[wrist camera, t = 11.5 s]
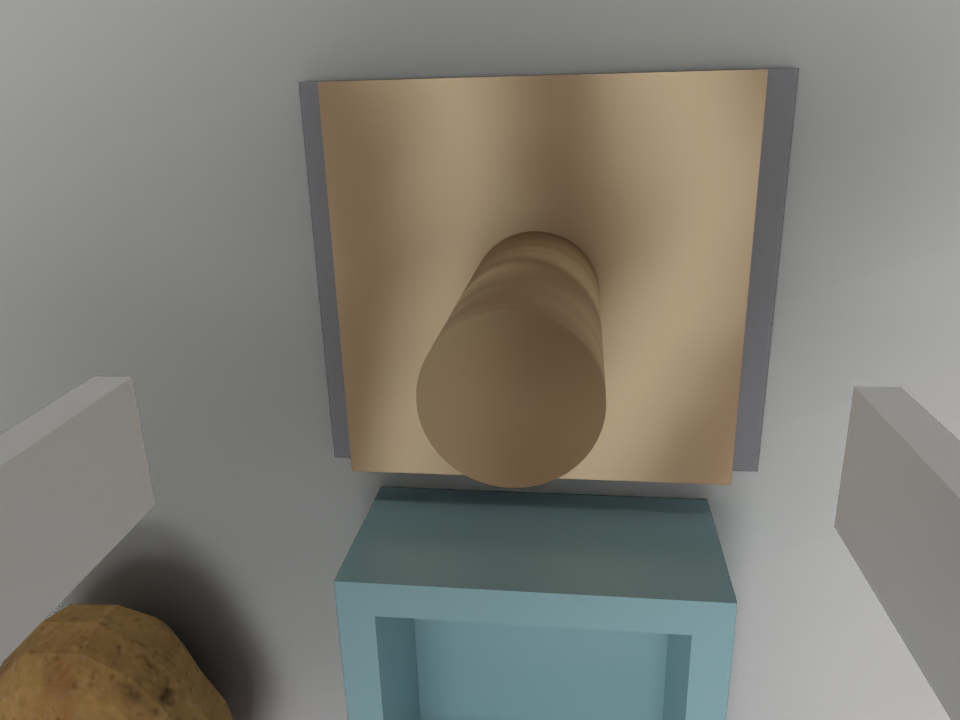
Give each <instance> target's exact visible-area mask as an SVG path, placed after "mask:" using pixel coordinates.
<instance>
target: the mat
mask: <svg viewBox="0 0 960 720" xmlns="http://www.w3.org/2000/svg"><path fill="white" fill-rule="evenodd" d="M744 70H757V69H744ZM708 71H721V70H708ZM673 72H686V71H673ZM798 72H799V68H780V69H768V78H767V89H766V100H765V111H764V123H763V134H762V145H761V156H760V167H759V178H758V189H757V200H756V211H755V222H754V233H753V245H752V256H751V267H750V278H749V289H748V300H747V311H746V322H745V333H744V344H743V356H742V367H741V378H740V389H739V400H738V411H737V422H736V433H735V444H734V455H733V466H732V471H757V472H758V463H759V454H760V444H761V434H762V424H763V415H764V405H765V395H766V385H767V375H768V366H769V356H770V346H771V336H772V326H773V317H774V307H775V297H776V287H777V277H778V268H779V258H780V248H781V238H782V229H783V219H784V209H785V199H786V189H787V180H788V170H789V160H790V150H791V140H792V131H793V121H794V111H795V101H796V91H797V82H798ZM637 73H650V72H637ZM601 74H614V73H601ZM566 75H578V74H566ZM530 76H542V75H530ZM494 77H507V76H494ZM459 78H471V77H459ZM423 79H435V78H423ZM388 80H399V79H388ZM352 81H363V80H352ZM318 82H328V81H316V82H299V91H300V101H301V112H302V122H303V133H304V143H305V153H306V164H307V174H308V185H309V195H310V205H311V216H312V226H313V237H314V247H315V258H316V268H317V278H318V289H319V299H320V310H321V320H322V330H323V341H324V351H325V362H326V372H327V382H328V393H329V403H330V414H331V424H332V434H333V445H334V455H335V457H349V458H351V454H350V442H349V431H348V420H347V408H346V397H345V386H344V375H343V363H342V352H341V341H340V329H339V318H338V307H337V295H336V284H335V273H334V262H333V250H332V239H331V228H330V216H329V205H328V194H327V182H326V171H325V160H324V149H323V137H322V126H321V115H320V103H319V92H318Z"/></svg>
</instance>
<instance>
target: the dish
mask: <svg viewBox="0 0 960 720" xmlns="http://www.w3.org/2000/svg"><path fill="white" fill-rule="evenodd" d="M334 588H335V597H336V607H337V617H338V627H339V636H340V646H341V656H342V666H343V675H344V685H345V695H346V705H347V715H348V720H726V713H727V703H728V693H729V683H730V673H731V663H732V653H733V642H734V632H735V622H736V612H737V601H736V597H735V594H734V590H733V587H732V583H731V580H730V576H729V573H728V570H727V566H726V563H725V559H724V556H723V552H722V549H721V546H720V542H719V539H718V535H717V532H716V528H715V525H714V521H713V518H712V515H711V511H710V508H709V504H708V501H707V500H702V499H676V498H651V497H625V496H599V495H574V494H548V493H522V492H497V491H471V490H445V489H420V488H394V487H381V488H380V490H379V492H378V494H377V496H376V498H375V500H374V502H373V504H372V506H371V508H370V510H369V512H368V514H367V516H366V518H365V520H364V522H363V524H362V526H361V528H360V530H359V532H358V534H357V536H356V538H355V540H354V542H353V544H352V546H351V548H350V550H349V552H348V554H347V556H346V558H345V560H344V562H343V564H342V566H341V568H340V570H339V572H338V574H337V576H336V578H335V580H334Z"/></svg>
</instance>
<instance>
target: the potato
mask: <svg viewBox="0 0 960 720" xmlns="http://www.w3.org/2000/svg"><path fill="white" fill-rule="evenodd" d="M0 720H233V717H232V715H231V712H230V710H229V707H228V705H227V702H226V701H225V700H224V699H223V697H222V696H221V695H220V694H219V692H218V691H217V690H216V689H215V687H214V686H213V685H212V684H211V682H210V681H209V680H208V679H207V677H206V676H205V675H204V674H203V672H202V671H201V670H200V668H199V667H198V665H197V664H196V662H195V661H194V659H193V658H192V656H191V654H190V653H189V651H188V650H187V648H186V647H185V645H184V644H183V643H182V642H181V640H180V639H179V638H178V637H177V635H176V634H175V633H174V632H173V630H172V629H171V628H170V627H169V626H168V625H166V624H165V623H164V622H162V621H161V620H160V619H159V618H156V617H153V616H150V615H147V614H144V613H141V612H138V611H135V610H132V609H129V608H126V607H123V606H120V605H103V604H71V605H69V606H67V607H66V608H64V609H62V610H61V611H59V612H58V613H56V614H54V615H53V616H51V617H49V618H48V619H46V620H44V621H43V622H41V623H40V624H39V625H38V627H37V628H36V629H35V630H34V631H33V632H32V633H31V634H30V635H29V636H28V637H27V638H26V639H25V640H24V641H23V642H22V643H21V644H20V645H19V646H18V647H17V648H16V649H15V650H14V651H13V652H12V653H11V654H10V655H9V656H8V657H7V658H6V659H5V660H4V662H3V663H2V665H1V667H0Z"/></svg>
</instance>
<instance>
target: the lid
mask: <svg viewBox="0 0 960 720" xmlns="http://www.w3.org/2000/svg"><path fill="white" fill-rule="evenodd" d="M767 78H768V69H757V70H721V71H686V72H650V73H614V74H578V75H542V76H507V77H471V78H435V79H399V80H363V81H328V82H318V92H319V103H320V115H321V126H322V137H323V149H324V160H325V171H326V182H327V194H328V205H329V216H330V228H331V239H332V250H333V262H334V273H335V284H336V295H337V307H338V318H339V329H340V341H341V352H342V363H343V375H344V386H345V397H346V408H347V420H348V431H349V442H350V454H351V465H352V471H367V472H394V473H422V474H449V475H465V476H468V477H470V478H472V479H474V480H476V481H479V482H482V483H485V484H488V485H493V486H497V487H506V488H525V487H532V486H537V485H541V484H545V483H548V482H550V481H553V480H555V479H586V480H613V481H640V482H668V483H695V484H722V485H731V478H732V466H733V455H734V444H735V433H736V422H737V411H738V400H739V389H740V378H741V367H742V356H743V344H744V333H745V322H746V311H747V300H748V289H749V278H750V267H751V256H752V245H753V233H754V222H755V211H756V200H757V189H758V178H759V167H760V156H761V145H762V134H763V123H764V111H765V100H766V89H767Z"/></svg>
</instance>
